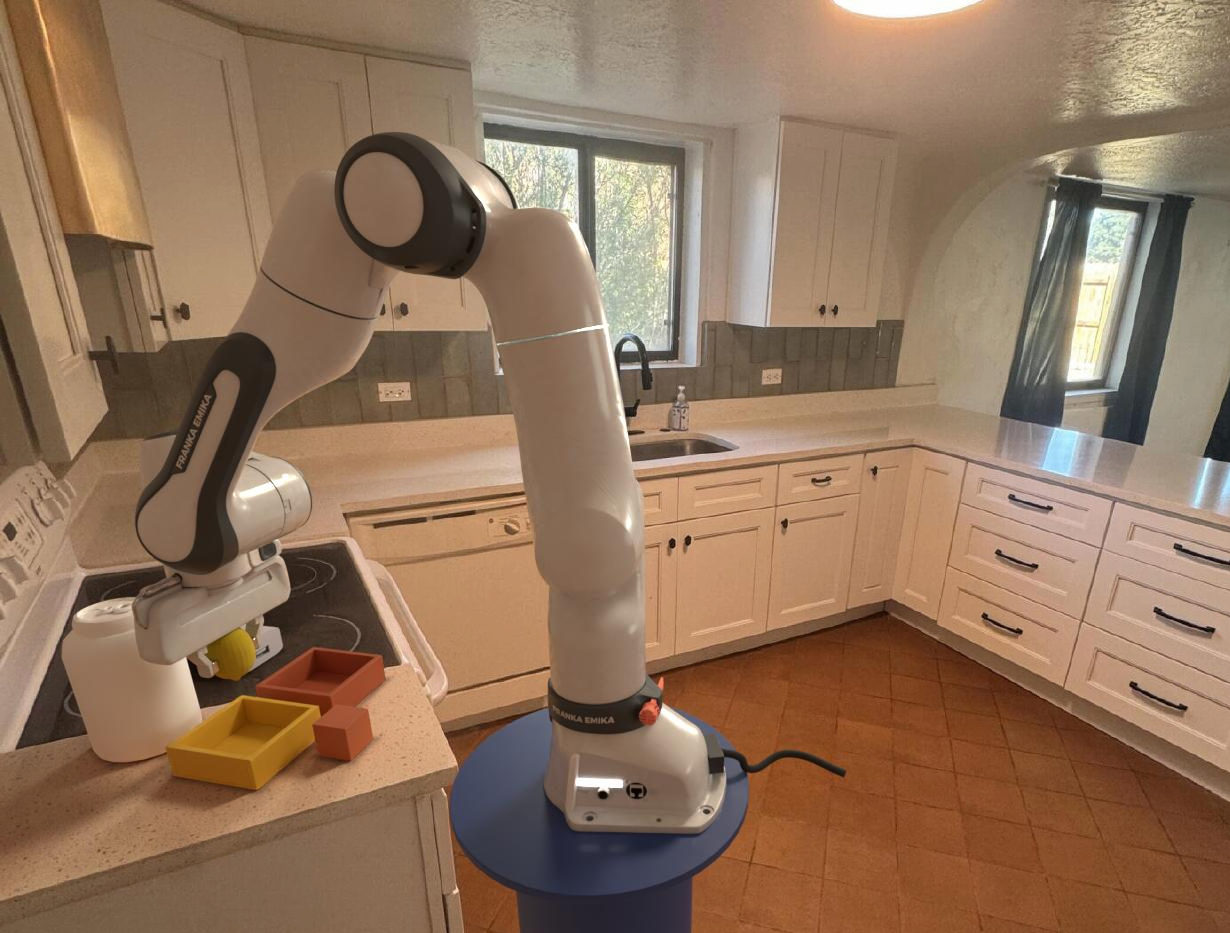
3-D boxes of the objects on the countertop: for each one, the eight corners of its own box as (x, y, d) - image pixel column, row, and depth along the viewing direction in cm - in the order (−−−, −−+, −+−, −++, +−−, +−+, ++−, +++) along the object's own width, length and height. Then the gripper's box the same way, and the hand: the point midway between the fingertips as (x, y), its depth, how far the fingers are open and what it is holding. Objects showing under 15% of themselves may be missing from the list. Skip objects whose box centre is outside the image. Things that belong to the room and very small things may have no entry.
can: (208, 704, 105) (175, 582, 98) (199, 749, 94) (162, 616, 87) (106, 725, 100) (63, 598, 92) (85, 776, 89) (35, 636, 82)
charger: (210, 641, 124) (284, 649, 121) (166, 666, 116) (244, 675, 113) (204, 617, 122) (278, 624, 120) (159, 640, 114) (237, 649, 111)
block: (373, 739, 97) (368, 708, 95) (351, 761, 92) (345, 729, 90) (342, 734, 98) (336, 704, 96) (318, 756, 93) (311, 724, 91)
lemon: (243, 666, 93) (230, 612, 90) (270, 675, 91) (258, 620, 88) (202, 685, 89) (187, 629, 86) (229, 695, 86) (215, 638, 84)
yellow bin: (324, 732, 98) (318, 705, 97) (257, 790, 87) (249, 760, 85) (248, 721, 101) (241, 694, 99) (173, 776, 89) (164, 746, 88)
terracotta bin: (386, 679, 112) (382, 655, 110) (335, 723, 100) (330, 696, 99) (317, 671, 114) (313, 646, 113) (260, 712, 103) (254, 686, 101)
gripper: (153, 596, 74) (184, 708, 79) (289, 536, 93) (307, 629, 97) (104, 591, 75) (138, 701, 80) (249, 533, 94) (269, 625, 99)
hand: (232, 661), depth 89 cm, fingers closed on lemon, 5 cm apart
